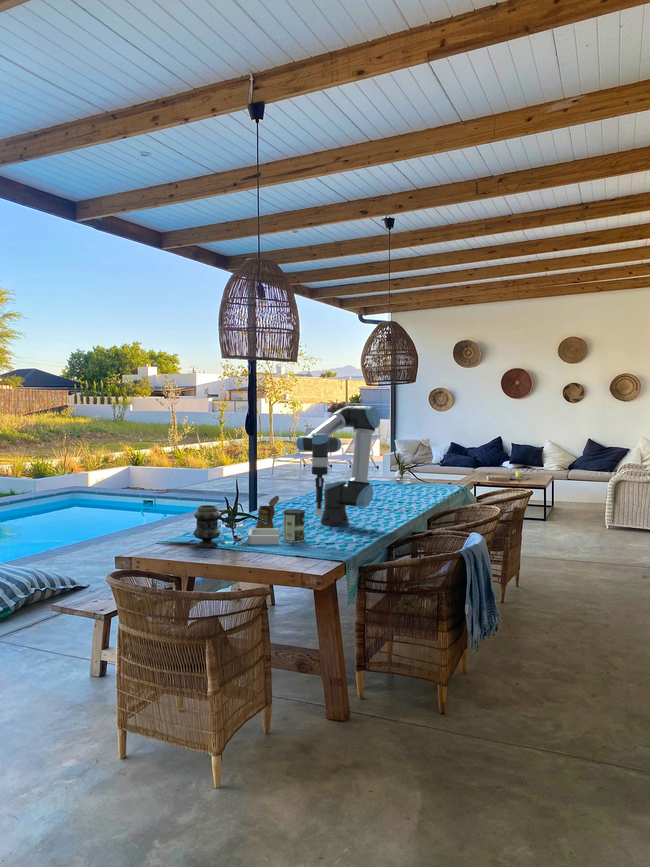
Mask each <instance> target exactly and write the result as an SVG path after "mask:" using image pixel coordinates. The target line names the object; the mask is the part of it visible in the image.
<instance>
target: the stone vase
mask: <svg viewBox="0 0 650 867" xmlns="http://www.w3.org/2000/svg"><path fill="white" fill-rule="evenodd" d="M213 508H214V509H213ZM211 515H212V516H211ZM193 516H194V518H195V519H196V528H195V529H194V531H193V536H194V537H195V538H197V539H198V540H201V541H199V542H197V543H196V544H195V545H196V547H199V548H213V547H217V546H218V545H219V544H218V542H216V541H213V540H215V539H217V538H218V537H219V536H221V530H220V529H219V528H218V527H219V524H218V522H219V519H220V517H221V513H220V511H219V510H218V507H217V506H216V505H213V504H201V505H199V506H198V507H197V510H195V511H194V514H193Z"/></svg>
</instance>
